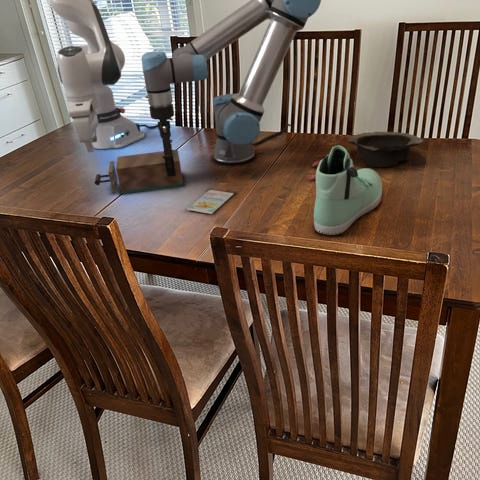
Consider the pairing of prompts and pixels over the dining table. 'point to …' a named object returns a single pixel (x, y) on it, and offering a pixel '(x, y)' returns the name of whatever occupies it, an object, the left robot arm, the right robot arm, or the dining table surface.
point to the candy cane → (315, 173)
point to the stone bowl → (384, 147)
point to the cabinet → (147, 172)
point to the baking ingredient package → (210, 201)
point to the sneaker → (343, 192)
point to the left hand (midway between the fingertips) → (92, 146)
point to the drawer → (111, 175)
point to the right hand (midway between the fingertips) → (170, 168)
